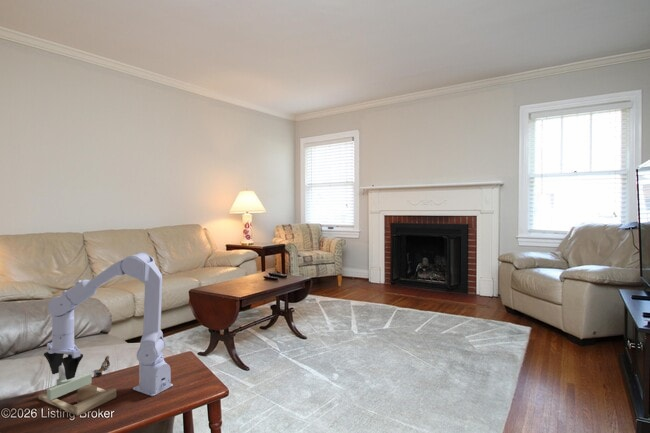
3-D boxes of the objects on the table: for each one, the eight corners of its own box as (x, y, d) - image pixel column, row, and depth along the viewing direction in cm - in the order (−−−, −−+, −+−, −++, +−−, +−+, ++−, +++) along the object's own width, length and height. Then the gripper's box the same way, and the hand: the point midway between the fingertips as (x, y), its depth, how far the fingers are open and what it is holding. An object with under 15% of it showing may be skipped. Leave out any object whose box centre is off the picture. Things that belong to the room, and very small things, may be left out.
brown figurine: (112, 363, 137) (110, 354, 135) (103, 381, 130) (101, 371, 128) (107, 363, 137) (105, 354, 135) (98, 381, 129) (95, 372, 128)
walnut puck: (100, 400, 113) (100, 387, 112) (83, 408, 108) (83, 394, 108) (90, 396, 115) (90, 383, 115) (73, 404, 110) (73, 390, 110)
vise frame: (116, 397, 114) (116, 389, 114) (77, 415, 104) (77, 407, 104) (77, 382, 123) (77, 375, 123) (38, 398, 113) (38, 390, 113)
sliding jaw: (91, 383, 120) (91, 361, 120) (50, 400, 109) (50, 376, 109) (80, 379, 123) (80, 358, 122) (39, 395, 112) (39, 372, 112)
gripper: (36, 332, 116) (36, 375, 116) (63, 341, 109) (63, 386, 110) (60, 326, 122) (60, 367, 123) (87, 333, 116) (87, 376, 116)
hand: (63, 375), depth 117 cm, fingers open, 7 cm apart
